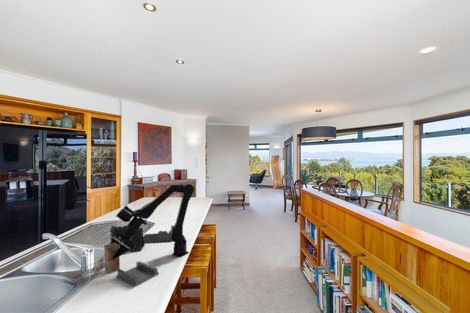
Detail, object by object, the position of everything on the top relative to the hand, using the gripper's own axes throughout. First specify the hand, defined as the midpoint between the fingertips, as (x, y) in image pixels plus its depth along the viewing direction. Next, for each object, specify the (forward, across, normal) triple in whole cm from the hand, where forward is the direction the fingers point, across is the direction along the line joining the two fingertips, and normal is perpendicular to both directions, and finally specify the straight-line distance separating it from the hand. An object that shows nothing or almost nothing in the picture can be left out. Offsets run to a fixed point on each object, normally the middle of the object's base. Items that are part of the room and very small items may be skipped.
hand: (109, 256), depth 113 cm
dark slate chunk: (-21, -21, +32) cm, 44 cm away
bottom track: (0, +15, +10) cm, 18 cm away
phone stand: (-9, -17, +20) cm, 27 cm away
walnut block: (+4, 0, +6) cm, 7 cm away
